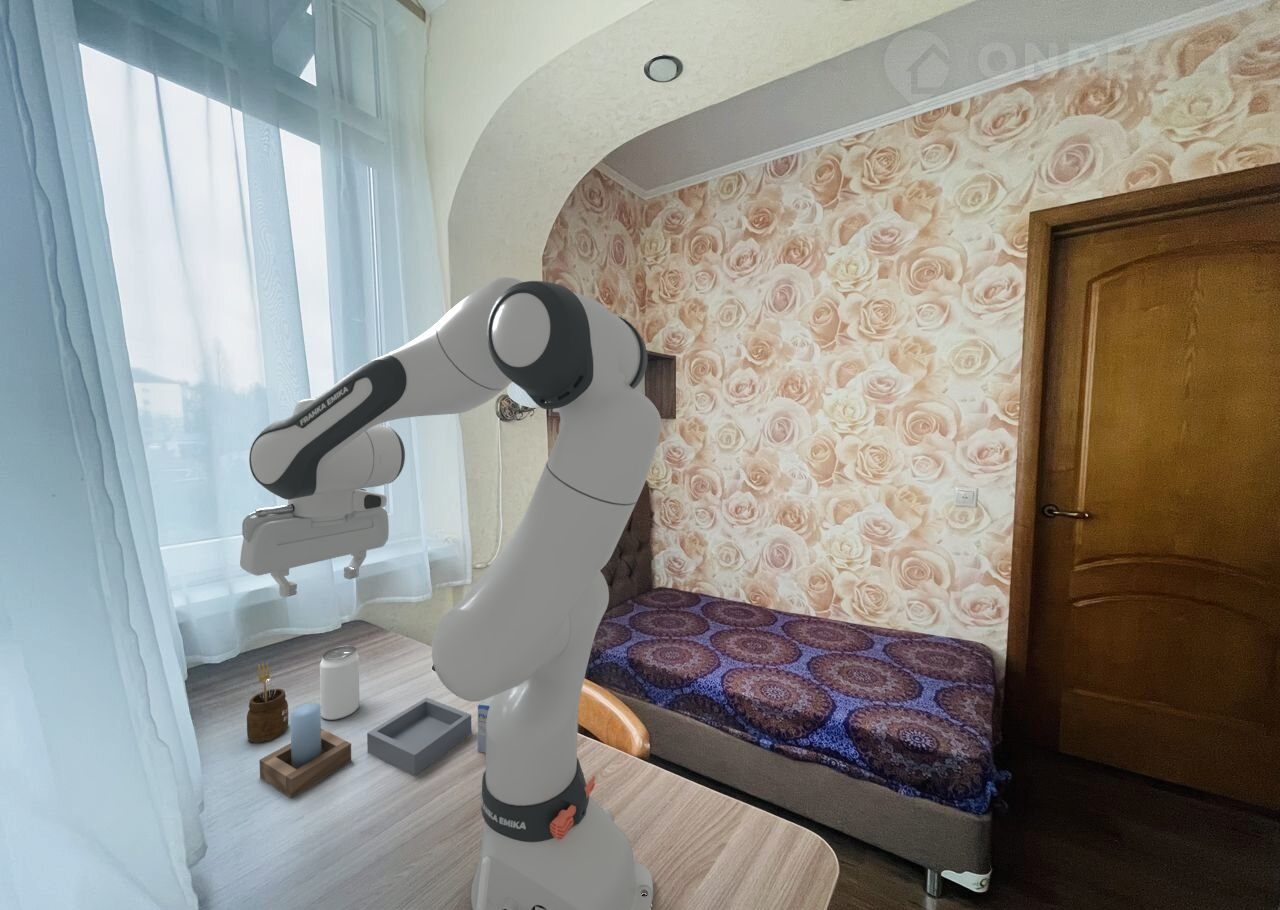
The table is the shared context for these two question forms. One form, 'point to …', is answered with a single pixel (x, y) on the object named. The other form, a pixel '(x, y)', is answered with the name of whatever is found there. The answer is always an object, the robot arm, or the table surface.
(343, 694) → the can
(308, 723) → the dowel
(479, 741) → the medicine box
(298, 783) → the collar
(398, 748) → the tray
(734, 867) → the table surface
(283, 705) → the utensil holder
